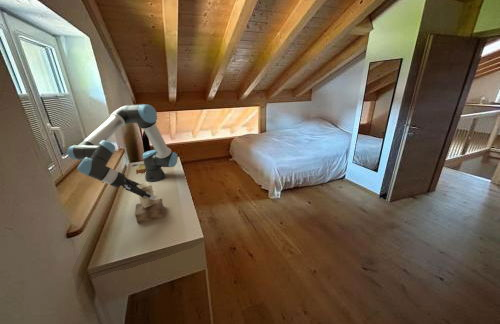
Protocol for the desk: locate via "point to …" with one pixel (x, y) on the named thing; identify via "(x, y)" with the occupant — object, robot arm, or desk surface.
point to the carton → (141, 169)
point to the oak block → (144, 200)
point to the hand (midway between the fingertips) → (153, 195)
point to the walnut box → (149, 211)
